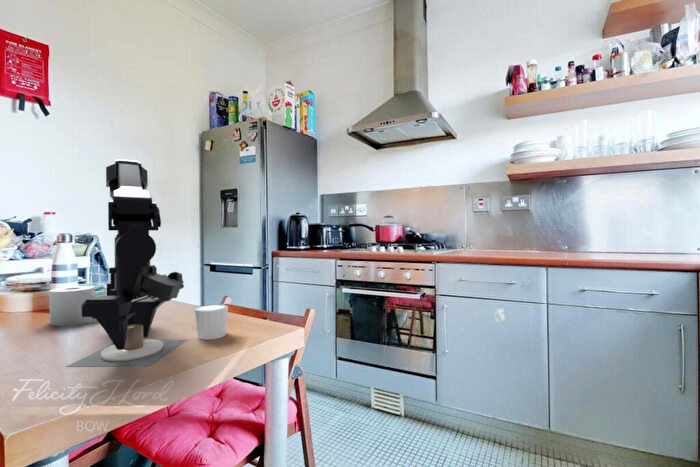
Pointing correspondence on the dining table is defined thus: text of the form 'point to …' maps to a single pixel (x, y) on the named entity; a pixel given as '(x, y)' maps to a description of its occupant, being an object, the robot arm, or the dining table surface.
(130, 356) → the lid
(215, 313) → the white cup
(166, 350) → the mat
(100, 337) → the dining table surface
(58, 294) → the toilet tissue
